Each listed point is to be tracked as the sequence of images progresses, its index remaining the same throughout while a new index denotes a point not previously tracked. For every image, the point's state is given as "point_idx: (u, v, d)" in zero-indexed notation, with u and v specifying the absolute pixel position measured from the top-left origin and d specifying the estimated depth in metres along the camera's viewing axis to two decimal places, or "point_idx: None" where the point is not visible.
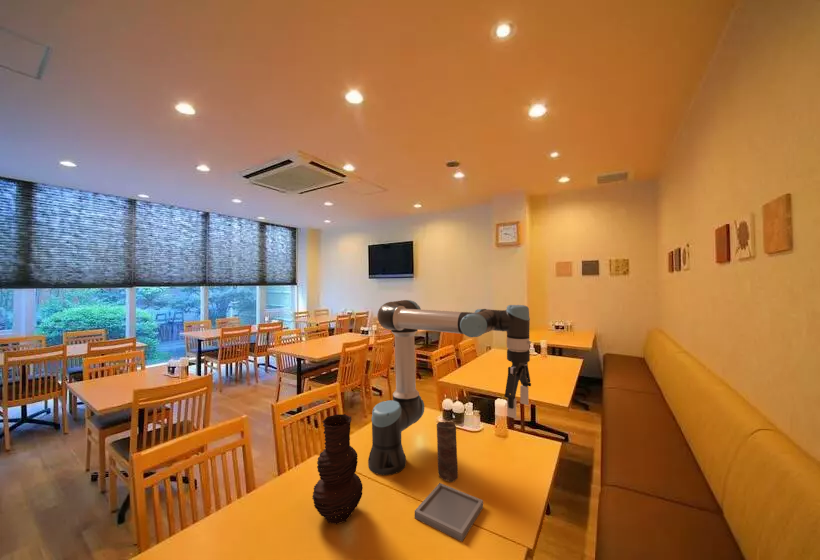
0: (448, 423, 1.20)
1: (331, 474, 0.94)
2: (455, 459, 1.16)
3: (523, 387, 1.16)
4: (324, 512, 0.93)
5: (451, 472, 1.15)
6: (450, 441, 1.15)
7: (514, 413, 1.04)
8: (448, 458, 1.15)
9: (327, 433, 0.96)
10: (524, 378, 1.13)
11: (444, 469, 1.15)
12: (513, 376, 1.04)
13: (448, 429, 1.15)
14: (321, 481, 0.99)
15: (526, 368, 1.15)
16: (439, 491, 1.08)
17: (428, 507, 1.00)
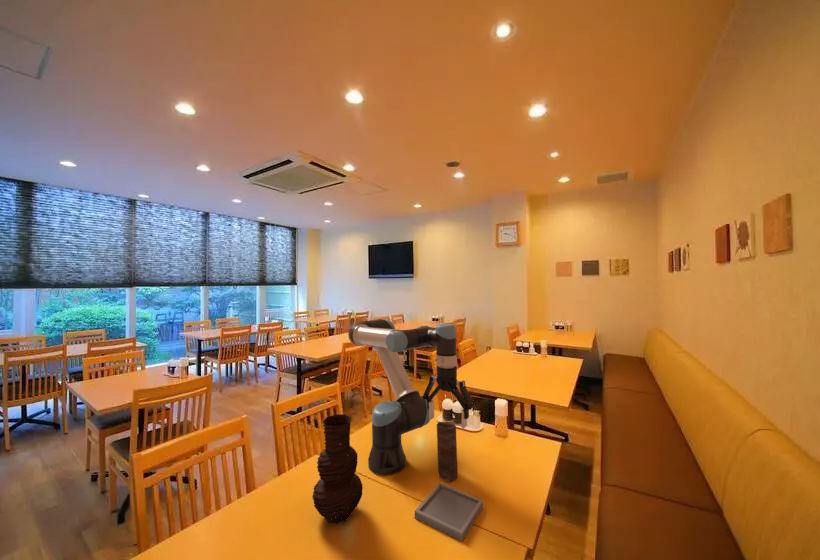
0: (448, 423, 1.20)
1: (331, 474, 0.94)
2: (455, 459, 1.16)
3: None
4: (324, 512, 0.93)
5: (451, 472, 1.15)
6: (450, 441, 1.15)
7: None
8: (448, 458, 1.15)
9: (327, 433, 0.96)
10: None
11: (444, 469, 1.15)
12: None
13: (448, 429, 1.15)
14: (321, 481, 0.99)
15: (460, 390, 1.14)
16: (439, 491, 1.08)
17: (428, 507, 1.00)
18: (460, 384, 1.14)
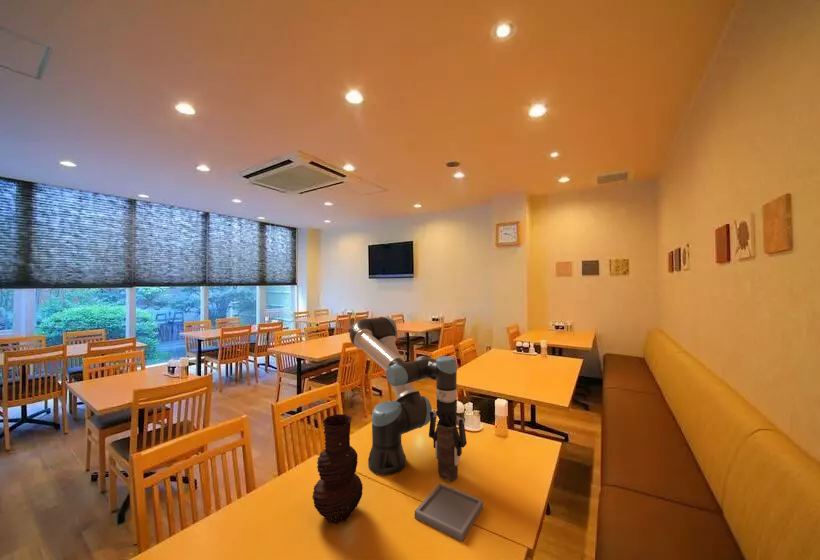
0: None
1: (331, 474, 0.94)
2: None
3: None
4: (324, 512, 0.93)
5: (452, 472, 1.15)
6: (450, 441, 1.15)
7: None
8: (448, 458, 1.15)
9: (327, 433, 0.96)
10: None
11: (444, 469, 1.15)
12: None
13: (448, 429, 1.15)
14: (321, 481, 0.99)
15: None
16: (439, 491, 1.08)
17: (428, 507, 1.00)
18: (460, 421, 1.14)
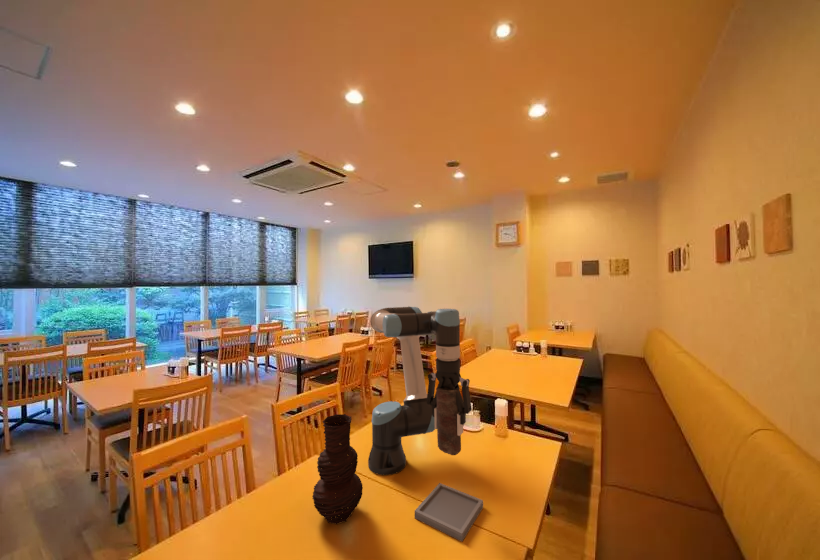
0: None
1: (331, 474, 0.94)
2: None
3: None
4: (324, 512, 0.93)
5: (454, 443, 0.96)
6: (452, 407, 0.96)
7: None
8: (449, 427, 0.96)
9: (327, 433, 0.96)
10: None
11: (445, 440, 0.97)
12: None
13: (450, 392, 0.96)
14: (321, 481, 0.99)
15: (462, 389, 0.96)
16: (439, 491, 1.08)
17: (428, 507, 1.00)
18: (464, 383, 0.95)
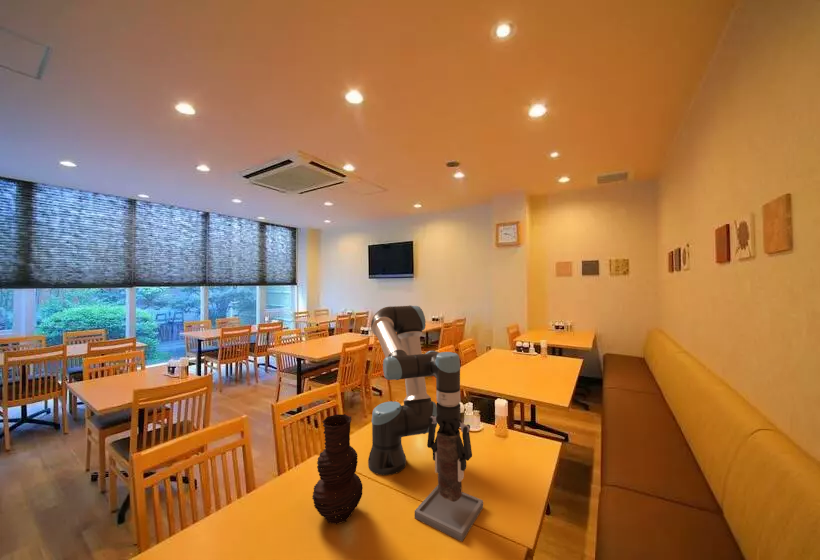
0: None
1: (331, 474, 0.94)
2: None
3: None
4: (324, 512, 0.93)
5: (454, 489, 0.96)
6: (453, 453, 0.96)
7: None
8: (450, 473, 0.96)
9: (327, 433, 0.96)
10: None
11: (445, 486, 0.97)
12: None
13: (450, 438, 0.96)
14: (321, 481, 0.99)
15: (462, 436, 0.96)
16: None
17: (428, 507, 1.00)
18: (464, 430, 0.95)
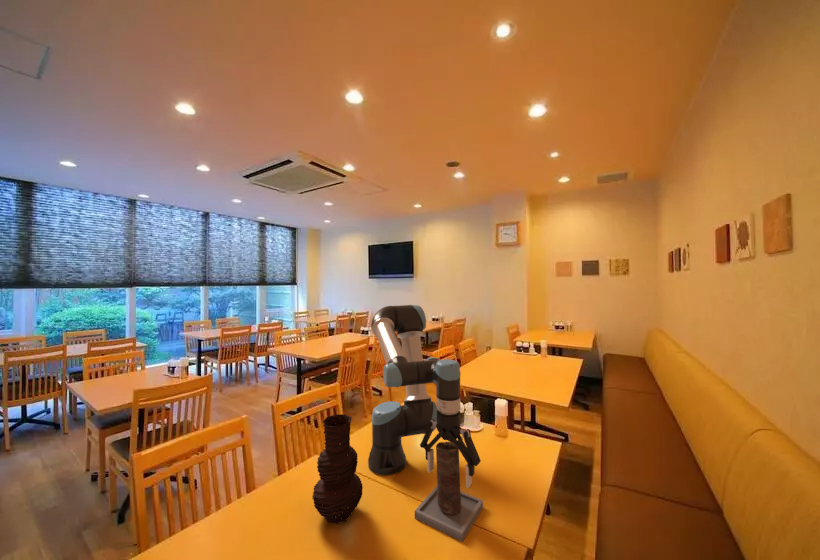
0: (449, 444, 1.02)
1: (331, 474, 0.94)
2: (458, 487, 0.98)
3: None
4: (324, 512, 0.93)
5: (454, 503, 0.97)
6: (452, 466, 0.97)
7: None
8: (449, 486, 0.97)
9: (327, 433, 0.96)
10: None
11: (445, 500, 0.97)
12: None
13: (450, 452, 0.97)
14: (321, 481, 0.99)
15: (465, 441, 0.96)
16: None
17: (428, 507, 1.00)
18: (465, 434, 0.95)
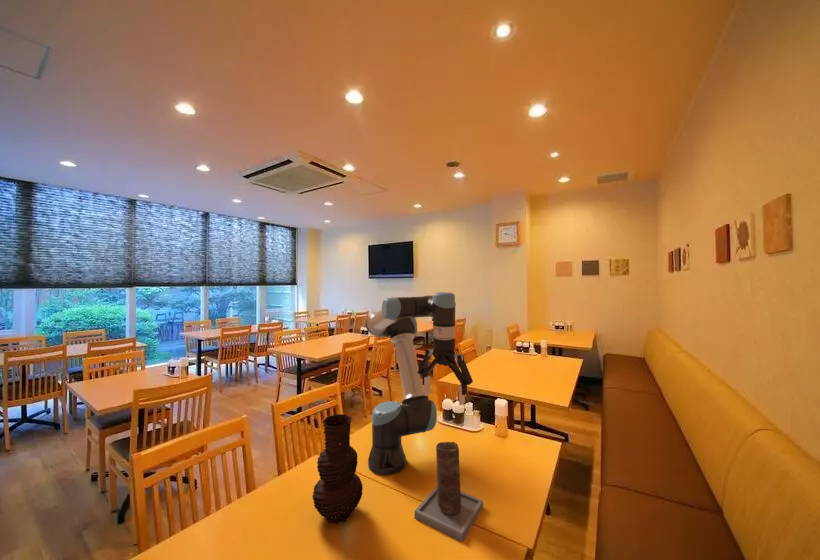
0: (450, 444, 1.02)
1: (331, 474, 0.94)
2: (458, 488, 0.98)
3: None
4: (324, 512, 0.93)
5: (454, 503, 0.97)
6: (452, 467, 0.97)
7: None
8: (449, 487, 0.97)
9: (327, 433, 0.96)
10: None
11: (445, 500, 0.97)
12: None
13: (450, 452, 0.97)
14: (321, 481, 0.99)
15: None
16: None
17: (428, 507, 1.00)
18: (458, 357, 1.04)
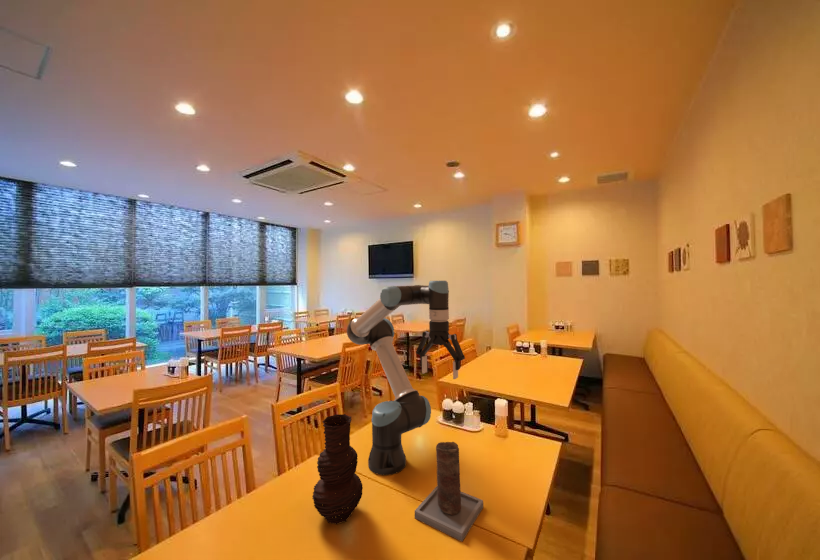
0: (450, 444, 1.02)
1: (331, 474, 0.94)
2: (458, 488, 0.98)
3: None
4: (324, 512, 0.93)
5: (454, 503, 0.97)
6: (452, 467, 0.97)
7: None
8: (449, 487, 0.97)
9: (327, 433, 0.96)
10: None
11: (445, 500, 0.97)
12: None
13: (450, 452, 0.97)
14: (321, 481, 0.99)
15: (452, 342, 1.18)
16: None
17: (428, 507, 1.00)
18: (452, 336, 1.18)
